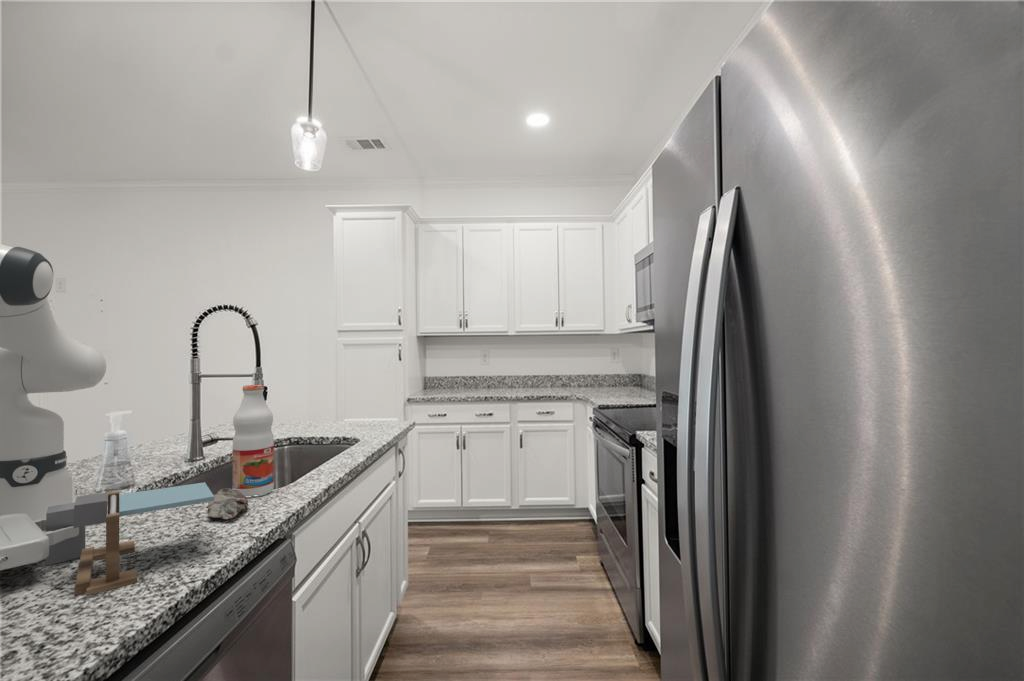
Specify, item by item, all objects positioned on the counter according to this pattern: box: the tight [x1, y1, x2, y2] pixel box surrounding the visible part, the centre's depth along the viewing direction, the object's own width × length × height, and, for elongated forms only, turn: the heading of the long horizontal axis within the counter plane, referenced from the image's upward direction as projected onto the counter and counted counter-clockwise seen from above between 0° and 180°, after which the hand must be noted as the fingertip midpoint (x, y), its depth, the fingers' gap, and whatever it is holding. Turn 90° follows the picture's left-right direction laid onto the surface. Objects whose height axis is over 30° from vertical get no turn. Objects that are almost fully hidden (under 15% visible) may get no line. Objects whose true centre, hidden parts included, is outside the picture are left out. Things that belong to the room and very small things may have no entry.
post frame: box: [74, 490, 138, 596], centre depth 79 cm, size 19×7×11 cm, turn 40°
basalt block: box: [45, 502, 87, 566], centre depth 84 cm, size 5×5×9 cm
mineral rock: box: [207, 487, 249, 520], centre depth 106 cm, size 15×8×4 cm, turn 16°
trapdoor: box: [73, 481, 214, 528], centre depth 83 cm, size 13×19×4 cm
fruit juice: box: [231, 384, 275, 499], centre depth 121 cm, size 9×9×28 cm
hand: (73, 525), depth 85 cm, fingers open, 6 cm apart
